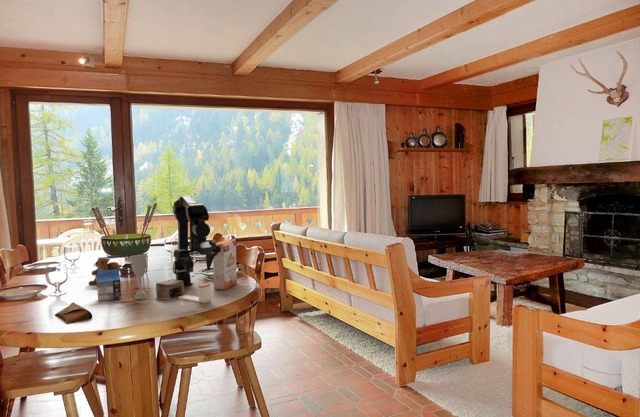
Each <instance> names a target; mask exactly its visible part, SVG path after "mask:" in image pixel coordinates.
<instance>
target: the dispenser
mask: <svg viewBox="0 0 640 417" xmlns="http://www.w3.org/2000/svg"><path fill="white" fill-rule="evenodd" d="M155 292H156V298H157V299H158V298H159V299H163V300H164V299H165V300H170V295H172V294H174V295H181V296H184V295H185V287H184V281H182V280H176V278H175V279H174V278H173V279H168V280H165V281H161V282H156V283H155Z"/></svg>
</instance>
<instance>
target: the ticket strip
mask: <svg viewBox="0 0 640 417" xmlns="http://www.w3.org/2000/svg"><path fill="white" fill-rule="evenodd" d="M197 288H198V296H196V295H195V296H194V295H189V294H183V295H181V296H178V297H177V298H178V300H183V301H188V302H193V303H198V304H207V303H209V302H211V301H212V300H211V298H212V297H211V296H212V295H211V283H202V284H200V285H197Z"/></svg>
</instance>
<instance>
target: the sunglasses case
mask: <svg viewBox="0 0 640 417" xmlns="http://www.w3.org/2000/svg"><path fill="white" fill-rule="evenodd" d="M55 316H56V317H58V318H60V319H61V320H63V321H64V322H65V321H66V322H65V323H66V324H67V325H70V324H75V323H76V324H77V323H79V322H84V321H85V322H86V321H89V320H93V314H92V312H91V311H90V310H88V309H86V308H85V307H83V306H81V305H78V304H77V303H75V302H74V301H73V302H70V304H69V305H68V306H67V307H65V308H63V309H61V310H60V311H58V312H56V313H55V314H54V317H55Z"/></svg>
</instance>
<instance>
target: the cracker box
mask: <svg viewBox="0 0 640 417" xmlns="http://www.w3.org/2000/svg"><path fill="white" fill-rule="evenodd" d="M216 245H219V246H220V248H221V252H219V253H218V255H216V256H215V257H214V258H213V261H212V267H213V268H212V269H213V270H212V272H213V289H214V290H227V289H228V288H231V287H232V286H233V285H235V284H237V283H238V278H237V246H236V245H237V240H235V239H226V240H222V241H218V242H216Z"/></svg>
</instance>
